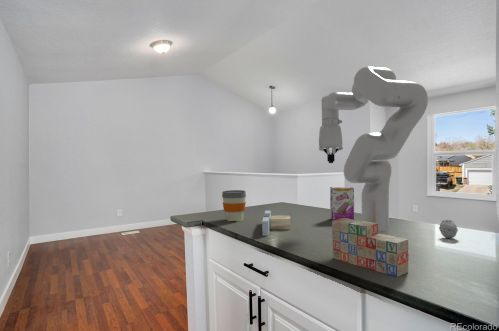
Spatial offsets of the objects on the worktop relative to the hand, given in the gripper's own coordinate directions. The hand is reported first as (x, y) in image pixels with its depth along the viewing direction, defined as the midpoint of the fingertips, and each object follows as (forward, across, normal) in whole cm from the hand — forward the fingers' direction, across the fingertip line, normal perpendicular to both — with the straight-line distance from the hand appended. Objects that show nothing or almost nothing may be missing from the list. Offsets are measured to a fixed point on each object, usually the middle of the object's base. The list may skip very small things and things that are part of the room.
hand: (331, 163), depth 146 cm
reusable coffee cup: (+29, +48, -14) cm, 58 cm away
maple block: (+29, +24, +4) cm, 38 cm away
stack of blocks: (+30, -2, +53) cm, 60 cm away
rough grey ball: (+29, -40, +22) cm, 54 cm away
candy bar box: (+29, -7, -14) cm, 33 cm away
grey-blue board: (+29, +30, +6) cm, 42 cm away
